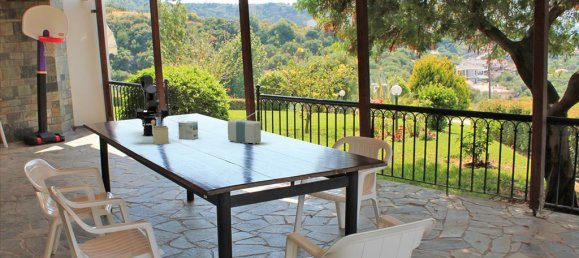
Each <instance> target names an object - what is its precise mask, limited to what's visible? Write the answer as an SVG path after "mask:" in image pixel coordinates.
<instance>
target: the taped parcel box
mask: <svg viewBox="0 0 579 258" xmlns="http://www.w3.org/2000/svg"><path fill="white" fill-rule="evenodd" d="M258 112H259V110H257V111H255V112H254V113H251V114H250V115H248V116H246V117H244V118H242V119H231V120H227V140H228V141H229V142H231V141H233V142H235V143H240V142H242V144H248V143H253V144H252V145H254V144H255V143H257V144H259V143H258V142H260V143H261V141H262V127H261V126H262V122H261V121H255V120H246V119H247V118H250V117H251V116H252V115H255V113H258ZM233 142H232V143H233ZM255 145H256V144H255Z"/></svg>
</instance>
